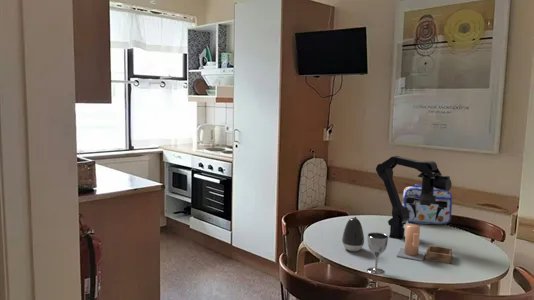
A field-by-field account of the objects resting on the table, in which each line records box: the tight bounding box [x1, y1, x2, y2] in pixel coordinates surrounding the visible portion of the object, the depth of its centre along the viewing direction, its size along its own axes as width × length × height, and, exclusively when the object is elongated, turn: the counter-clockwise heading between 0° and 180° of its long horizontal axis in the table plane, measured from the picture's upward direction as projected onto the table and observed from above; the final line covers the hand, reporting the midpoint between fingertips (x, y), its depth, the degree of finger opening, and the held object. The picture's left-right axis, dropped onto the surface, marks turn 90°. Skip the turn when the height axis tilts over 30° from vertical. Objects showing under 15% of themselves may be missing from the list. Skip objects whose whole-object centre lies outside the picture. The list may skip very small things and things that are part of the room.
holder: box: [425, 244, 453, 264], centre depth 188 cm, size 10×10×4 cm
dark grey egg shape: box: [341, 216, 365, 252], centre depth 195 cm, size 10×10×15 cm
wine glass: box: [366, 232, 389, 275], centre depth 171 cm, size 8×8×15 cm
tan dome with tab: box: [404, 223, 421, 256], centre depth 188 cm, size 9×6×13 cm
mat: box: [396, 247, 427, 262], centre depth 190 cm, size 11×11×1 cm
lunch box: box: [401, 183, 453, 225], centre depth 242 cm, size 28×10×22 cm, turn 78°
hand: (425, 218), depth 203 cm, fingers open, 9 cm apart
